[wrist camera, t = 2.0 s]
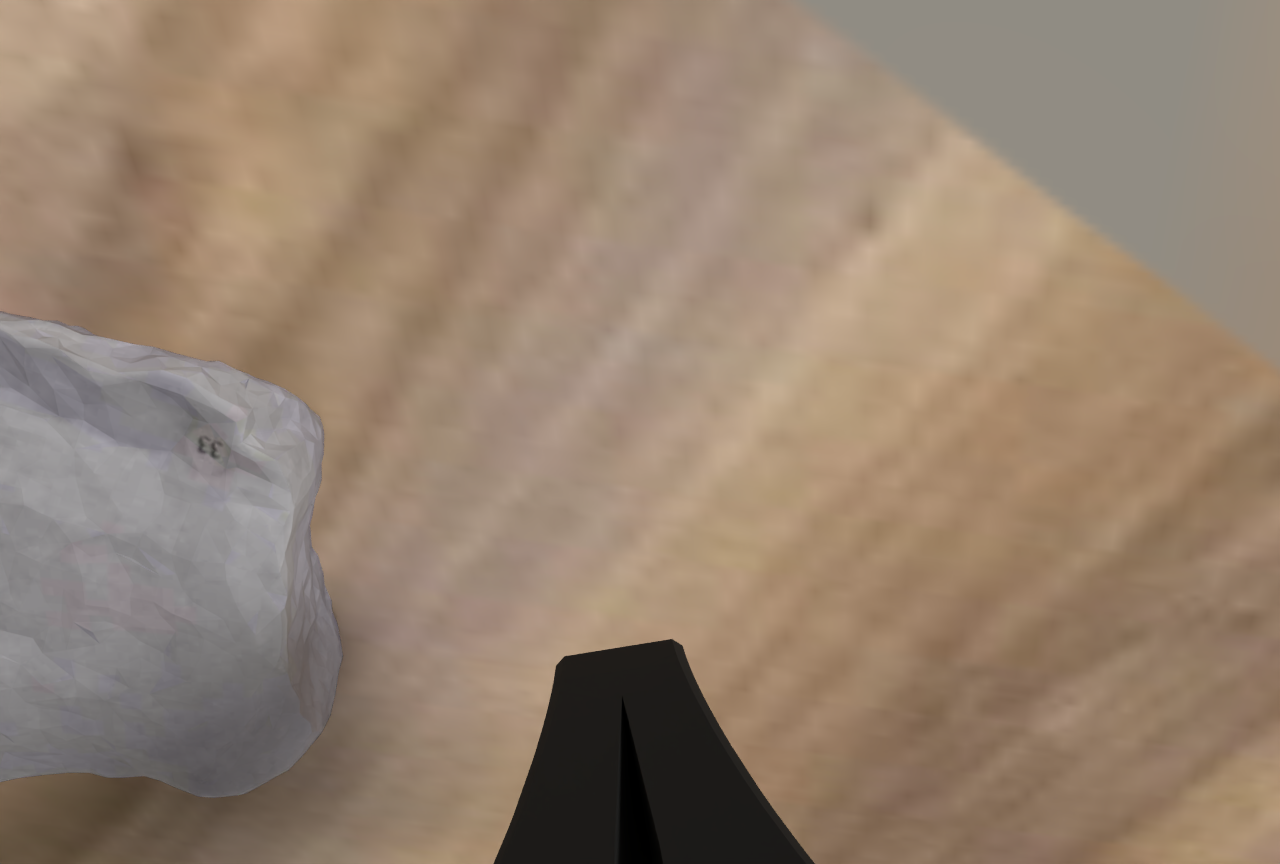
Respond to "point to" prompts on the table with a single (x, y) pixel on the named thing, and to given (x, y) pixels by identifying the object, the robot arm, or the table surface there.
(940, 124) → the table surface
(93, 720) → the stone block
